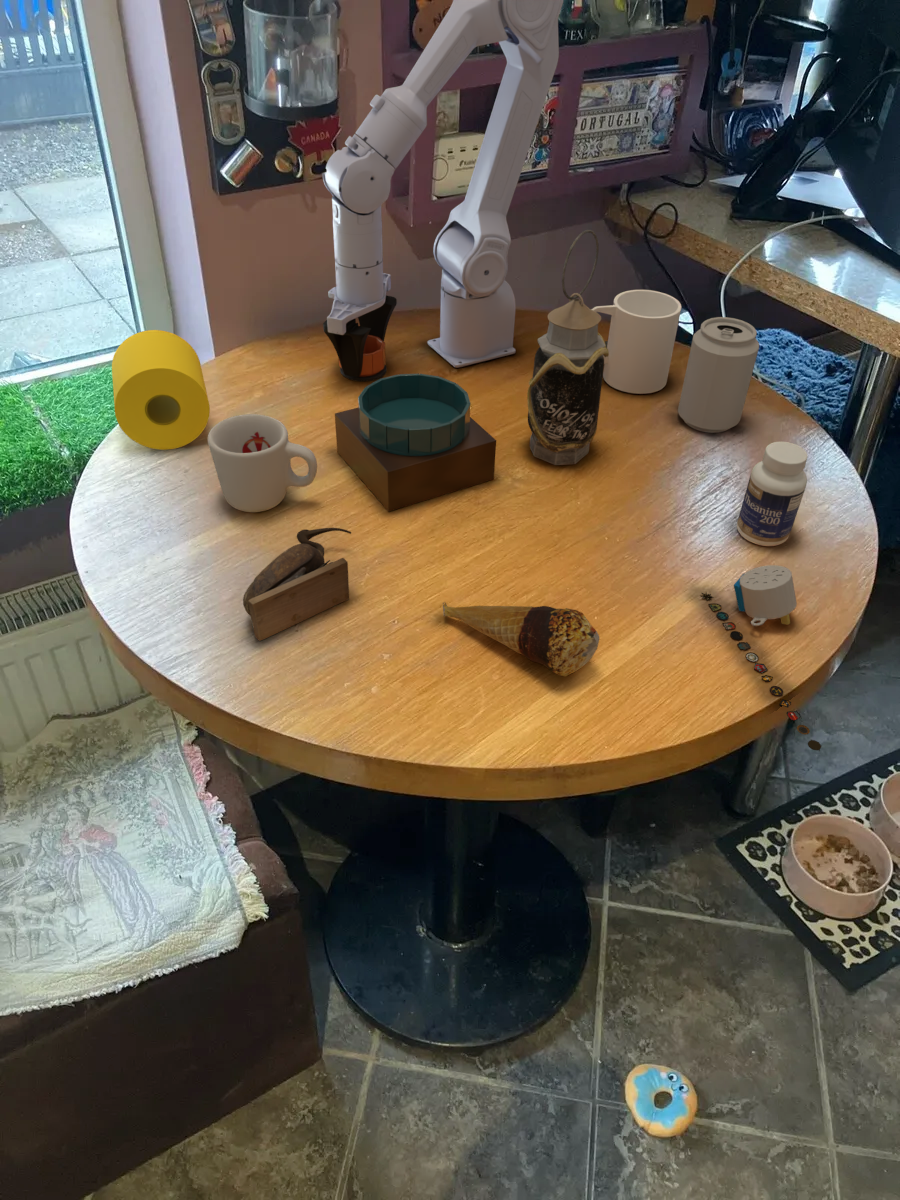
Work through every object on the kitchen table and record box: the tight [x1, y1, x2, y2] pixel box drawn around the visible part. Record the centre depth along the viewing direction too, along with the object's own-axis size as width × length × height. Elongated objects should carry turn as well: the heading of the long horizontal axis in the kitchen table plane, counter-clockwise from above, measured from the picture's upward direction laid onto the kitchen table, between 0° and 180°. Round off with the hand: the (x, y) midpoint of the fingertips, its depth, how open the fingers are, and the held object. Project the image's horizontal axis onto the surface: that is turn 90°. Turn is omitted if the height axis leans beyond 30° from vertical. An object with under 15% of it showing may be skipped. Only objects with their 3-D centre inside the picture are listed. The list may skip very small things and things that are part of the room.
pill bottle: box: [736, 441, 808, 547], centre depth 94 cm, size 5×5×10 cm
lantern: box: [526, 229, 609, 466], centre depth 100 cm, size 9×8×25 cm
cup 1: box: [207, 413, 318, 513], centre depth 97 cm, size 11×8×8 cm
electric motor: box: [733, 564, 798, 627], centre depth 87 cm, size 7×5×5 cm
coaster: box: [339, 363, 388, 382], centre depth 121 cm, size 6×6×1 cm
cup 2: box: [590, 289, 682, 395], centre depth 118 cm, size 8×12×10 cm
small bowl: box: [338, 335, 387, 377], centre depth 120 cm, size 6×6×3 cm
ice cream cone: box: [442, 602, 600, 677], centre depth 82 cm, size 6×6×15 cm
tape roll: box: [111, 329, 211, 451], centre depth 107 cm, size 10×10×9 cm
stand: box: [334, 407, 497, 512], centre depth 104 cm, size 13×13×5 cm
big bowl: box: [357, 372, 472, 456], centre depth 101 cm, size 12×12×3 cm
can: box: [677, 316, 760, 434], centre depth 110 cm, size 8×8×12 cm
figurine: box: [242, 527, 352, 642], centre depth 88 cm, size 14×4×9 cm
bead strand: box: [699, 591, 822, 752], centre depth 83 cm, size 20×1×1 cm
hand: (362, 363), depth 121 cm, fingers closed on small bowl, 6 cm apart
